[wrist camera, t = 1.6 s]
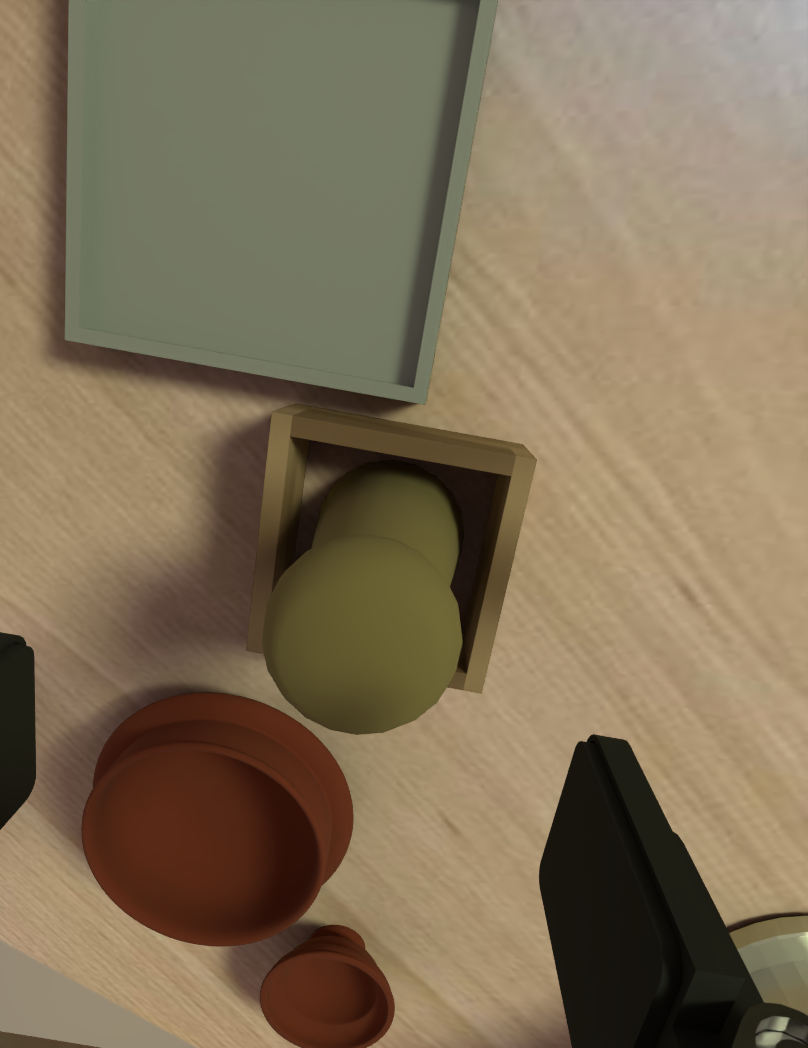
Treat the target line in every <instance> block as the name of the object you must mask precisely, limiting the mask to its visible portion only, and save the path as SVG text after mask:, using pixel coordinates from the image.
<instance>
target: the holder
mask: <svg viewBox="0 0 808 1048" xmlns="http://www.w3.org/2000/svg"><path fill="white" fill-rule="evenodd" d="M309 440H314V441H319V442H325V443H330V444H336V445H341V446H347V447H352V448H358V449H363V450H369V451H375V452H380V453H386V454H391V455H397V456H402V457H408V458H413V459H419V460H425V461H430V462H436V463H441V464H447V465H452V466H458V467H463V468H469V469H474V470H480V471H486V472H491V473H497V474H498V476H497V481H496V485H495V490H494V495H493V499H492V504H491V508H490V513H489V517H488V522H487V526H486V531H485V536H484V540H483V545H482V549H481V554H480V558H479V563H478V567H477V572H476V577H475V581H474V586H473V590H472V595H471V599H470V604H469V608H468V613H467V618H466V622H465V627H464V631H463V632H461V633H462V642H463V643H462V647H461V651H460V656H459V660H458V664H457V668H456V671H455V674H454V676H453V678H452V680H451V681H450V683H449V684H448V686H447V687H448V688H454V689H459V690H465V691H470V692H476V693H481V694H482V690H483V686H484V681H485V677H486V673H487V669H488V664H489V660H490V656H491V652H492V648H493V643H494V639H495V635H496V631H497V626H498V622H499V618H500V614H501V610H502V605H503V601H504V597H505V593H506V588H507V584H508V580H509V576H510V572H511V567H512V563H513V559H514V555H515V550H516V546H517V542H518V538H519V533H520V529H521V525H522V521H523V517H524V512H525V508H526V504H527V500H528V495H529V491H530V487H531V483H532V479H533V474H534V470H535V466H536V462H537V459H536V458H535V457H534V456H533V455H532V454H531V453H530V452H529V450H528V449H527V448H526V447H525V446H524V445H523V444H518V443H512V442H507V441H501V440H496V439H490V438H485V437H479V436H473V435H468V434H462V433H457V432H451V431H446V430H440V429H434V428H429V427H423V426H418V425H412V424H407V423H401V422H396V421H390V420H384V419H379V418H373V417H368V416H362V415H357V414H351V413H345V412H340V411H334V410H329V409H323V408H318V407H312V406H307V405H301V404H293V405H290V406H287V407H285V408H282V409H279V410H276V411H273V412H272V415H271V424H270V433H269V443H268V452H267V461H266V471H265V480H264V489H263V498H262V508H261V517H260V526H259V535H258V545H257V554H256V563H255V572H254V582H253V591H252V600H251V609H250V619H249V628H248V637H247V646H246V651H252V652H257V653H263V654H264V651H263V646H262V635H263V626H264V619H265V611H266V604H267V602H268V600H269V598H270V596H271V594H272V592H273V591H274V589H275V587H276V585H277V583H278V581H279V579H280V578H281V576H282V575H283V574H284V572H285V571H286V570H287V569H288V568H289V567H290V566H291V565H292V564H293V563H294V556H295V548H296V540H297V532H298V525H299V517H300V509H301V501H302V493H303V485H304V477H305V470H306V462H307V454H308V446H309Z"/></svg>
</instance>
